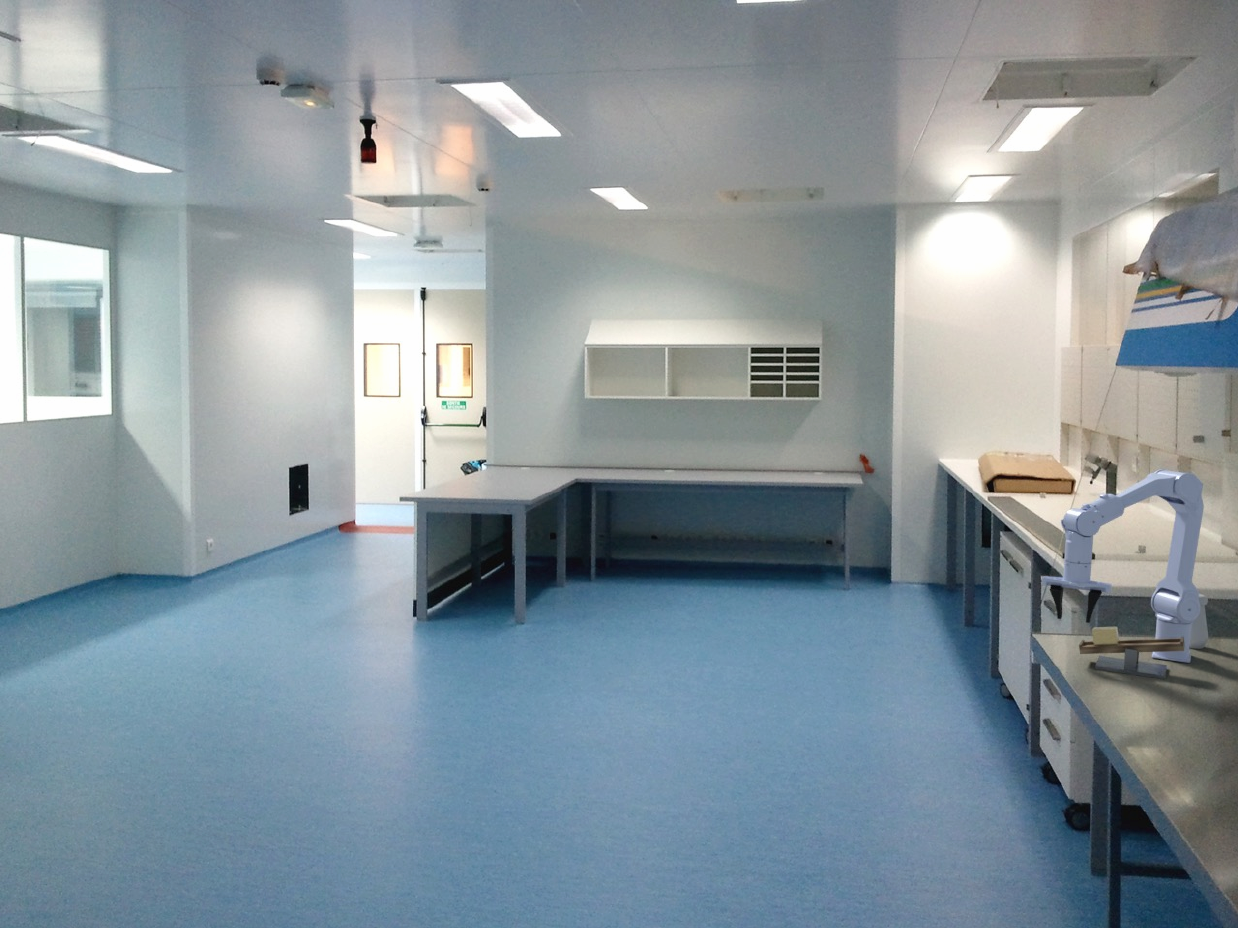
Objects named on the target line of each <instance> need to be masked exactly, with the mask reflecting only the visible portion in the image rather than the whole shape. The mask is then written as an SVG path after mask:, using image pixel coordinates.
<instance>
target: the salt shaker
mask: <svg viewBox="0 0 1238 928" xmlns="http://www.w3.org/2000/svg"><path fill="white" fill-rule="evenodd" d="M1208 600H1209V599H1208V596H1206V595H1205V594H1201V593H1199V603H1200V613H1199V615H1198V617H1197V618H1196V619H1195V620H1194V622H1193V623H1191V634H1190V647H1189V649H1194V650H1195V649H1197V650H1201V649H1204V648H1205V646H1206V644H1207V643H1208V642H1209V638H1210V637H1209V632H1208V631H1209V629H1208V624H1207V623H1208V622H1207V615H1206V606H1207V605H1208V602H1209V601H1208Z"/></svg>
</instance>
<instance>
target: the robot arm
mask: <svg viewBox="0 0 1238 928" xmlns="http://www.w3.org/2000/svg"><path fill="white" fill-rule="evenodd" d="M1203 487H1204V483H1203V482H1202V481H1201V480H1200V479H1199V478H1198V476H1197V475H1196V474H1194V473H1191V472H1179V471H1173V470H1169V469H1164V468H1160V469H1158V470H1156V471H1155V472H1151V473H1148V474H1147V475H1146V477H1145V478H1143V479H1142V480H1140V481H1138V482H1137V483H1134V484H1133V485H1132V486H1130V487H1128V488H1126V489H1125V490H1123V491H1121V492H1120V493H1118V494H1113V493H1101V494H1099V498H1098V499H1096V500H1093V501H1091V502H1089V503H1087V502H1086V503H1083V504H1082V506H1081V507H1080V508H1071V509H1069V510H1068V511H1067V512H1066V513H1065V514H1064V516H1063V518H1062V519H1061V520H1060V524H1061V527H1062V528H1063V530H1064V538H1065V545H1064V546H1065V547H1064V558H1063V559H1064V560H1063V562H1064V563H1063V574H1062V577H1061V576H1047V575H1045V576H1042V578H1041V586H1043V587H1050V588H1049V591H1050V594H1051V597H1052V600H1053V603H1054V605H1055V610H1056V615H1057V617H1056V618H1057V619H1058V620H1061V619H1062V617H1063V595H1064V589H1065V588H1067V589H1075V590H1084V591H1089V592H1088V593H1087V594H1088V595H1087V612H1086V618H1085V623H1088V624H1090V622H1091V618H1092V616H1093V612H1094V609H1095V607H1096V604H1097V603H1098V601H1099V599H1100V597H1101V595H1102V594H1103V593H1105V594H1111V593H1112V583H1109V582H1102V581H1095V580H1091V574H1092V560H1093V558H1092V557H1093V544H1094V536H1095V535H1097V533H1098V532H1099V530H1100V529H1101V527H1102V526H1105V525H1106V524H1108V523H1110V522H1112V521H1115V520H1116V519H1118V518H1120V517H1122V516H1123V514H1124V513H1125V509H1126V508H1128V507H1131V506H1133V505H1137V503H1140V502H1143V501H1145V500H1147V499H1150V498H1151V497H1154V496H1157V497H1159V498H1160V499H1162V500H1163V501H1166V502H1167V503H1168V504H1169V505H1170V506H1171V507H1172V508H1173V510H1174V511H1175V515H1174V516H1175V517H1174V523H1173V528H1172V536H1171V541H1170V547H1169V552H1168V553H1169V554H1168V561H1167V565H1166V572H1165V577H1163V578H1162V579H1161V580H1159V581H1158V582H1157V584H1156V589H1155V590H1154V592H1153V594H1152V595H1151V599H1150V606H1151V609H1152V611H1153V612H1155V615H1154V617H1156V625H1155V626H1156V628H1155V638H1154V639H1170V638H1181V636H1184V643H1185V647H1184V651H1167V652H1151V653H1152V654H1151V658H1152V659H1160V660H1165V661H1166V660H1167V661H1174V662H1179V663H1187V664H1189V663H1191V659H1192V658H1191V657H1192V652H1190V648H1189V647H1190V634H1191V623H1193V622H1194V620H1195V619H1196V618H1197V617H1198V615H1199V613H1200V603H1199V594H1200V591H1199V590H1198V588H1197V587H1196V586H1195V583H1193V576H1194V571H1195V563H1196V559H1197V553H1198V551H1197V550H1198V546H1199V538H1200V535H1201V534H1200V533H1201V526H1202V522H1203V521H1202V519H1203V514H1204V507H1205V506H1204V502H1203V497H1202V493H1203Z"/></svg>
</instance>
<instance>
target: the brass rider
mask: <svg viewBox="0 0 1238 928" xmlns="http://www.w3.org/2000/svg"><path fill="white" fill-rule="evenodd" d="M1091 635H1092V641H1093V643H1094V646H1104V645H1119V644H1120V643H1119V640H1120V639H1119V638H1120V635H1119V630H1118V626H1099V627H1095V626H1094V627H1093V628H1092V629H1091Z"/></svg>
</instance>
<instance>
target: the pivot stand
mask: <svg viewBox="0 0 1238 928" xmlns="http://www.w3.org/2000/svg"><path fill="white" fill-rule="evenodd" d="M1096 660H1097V661H1096V662H1095V665H1094V670H1098V671H1099V670H1100V671H1107V672H1112V673H1113V672H1114V673H1121V674H1127V675H1134V676H1141V677H1146V678H1147V677H1148V678H1154V679H1160V680H1165V679H1166V674H1167V669H1168V665H1167V664H1160V663H1153V662H1147V661H1140V652H1137V650H1136V649H1129V648H1125V653H1124V658H1120V657H1119V658H1118V657H1113V656H1112V657H1111V656H1104V655H1099V656H1098V658H1097V659H1096Z"/></svg>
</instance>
